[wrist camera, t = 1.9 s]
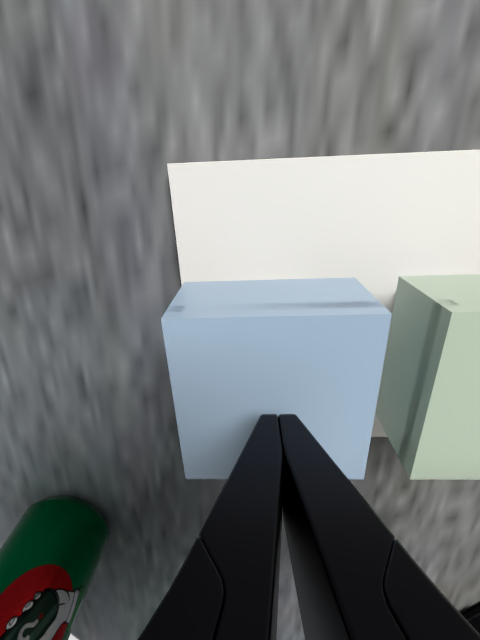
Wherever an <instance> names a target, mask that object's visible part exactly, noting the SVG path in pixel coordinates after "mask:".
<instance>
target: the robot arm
mask: <svg viewBox="0 0 480 640" xmlns="http://www.w3.org/2000/svg"><path fill="white" fill-rule="evenodd" d="M282 511H283V519H284V525H285V531H286V536H287V542H288V547H289V553H290V558H291V564H292V569H293V575H294V580H295V586H296V591H297V597H298V602H299V608H300V613H301V619H302V624H303V630H304V635H305V640H480V606H479V607H477V608H475V609H473V610H471V611H470V612H468V613H466V614H464V615H463V616H462V614H461V613H460V612H459V611H458V610H457V609H456V608H455V607H454V606H453V605H452V604H451V602H450V601H449V600H448V599H447V598H446V597H445V596H444V595H443V594H442V593H441V591H440V590H439V589H438V588H437V587H436V586H435V584H434V583H433V582H432V581H431V580H430V578H429V577H428V576H427V575H426V574H425V573H424V571H423V570H422V569H421V568H420V567H419V565H418V564H417V563H416V562H415V561H414V560H413V558H412V557H411V556H410V555H409V553H408V552H407V551H406V550H405V548H404V547H403V546H402V545H401V543H400V542H399V541H398V540H394V535H393V534H392V532H391V531H390V530H389V529H388V528H387V526H386V525H385V524H384V523H383V521H382V520H381V519H380V518H379V516H378V515H377V514H376V513H375V511H374V510H373V509H372V508H371V507H370V505H369V504H368V503H367V502H366V500H365V499H364V498H363V497H362V495H361V494H360V493H359V492H358V491H357V489H356V488H355V487H354V486H353V484H352V483H351V482H350V481H349V479H348V478H347V477H346V476H345V474H344V473H343V472H342V471H341V470H340V468H339V467H338V466H337V465H336V463H335V462H334V461H333V460H332V458H331V457H330V456H329V455H328V453H327V452H326V451H325V450H324V449H323V447H322V446H321V445H320V444H319V442H318V441H317V440H316V439H315V437H314V436H313V435H312V434H311V432H310V431H309V430H308V429H307V428H306V426H305V425H304V424H303V423H302V421H301V420H300V419H299V418H298V416H297V415H295V414H280V415H279V416H277V415H276V414H262V415H260V417H259V419H258V421H257V422H256V424H255V426H254V428H253V430H252V432H251V434H250V436H249V438H248V440H247V442H246V444H245V446H244V448H243V450H242V452H241V454H240V456H239V457H238V459H237V461H236V463H235V465H234V467H233V469H232V471H231V473H230V475H229V477H228V479H227V481H226V483H225V485H224V487H223V489H222V491H221V492H220V494H219V496H218V498H217V500H216V502H215V504H214V506H213V508H212V510H211V512H210V514H209V516H208V518H207V520H206V522H205V524H204V526H203V528H202V529H201V531H200V533H199V538H197V539H196V541H195V543H194V545H193V547H192V548H191V550H190V552H189V554H188V556H187V558H186V560H185V562H184V564H183V565H182V567H181V569H180V571H179V573H178V574H177V576H176V578H175V580H174V582H173V583H172V585H171V587H170V589H169V591H168V592H167V594H166V595H165V597H164V599H163V600H162V602H161V603H160V605H159V607H158V608H157V610H156V611H155V613H154V615H153V616H152V618H151V620H150V621H149V623H148V624H147V626H146V627H145V629H144V630H143V632H142V634H141V635H140V637H139V638H138V640H276V634H277V613H278V592H279V571H280V549H281V528H282Z"/></svg>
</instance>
